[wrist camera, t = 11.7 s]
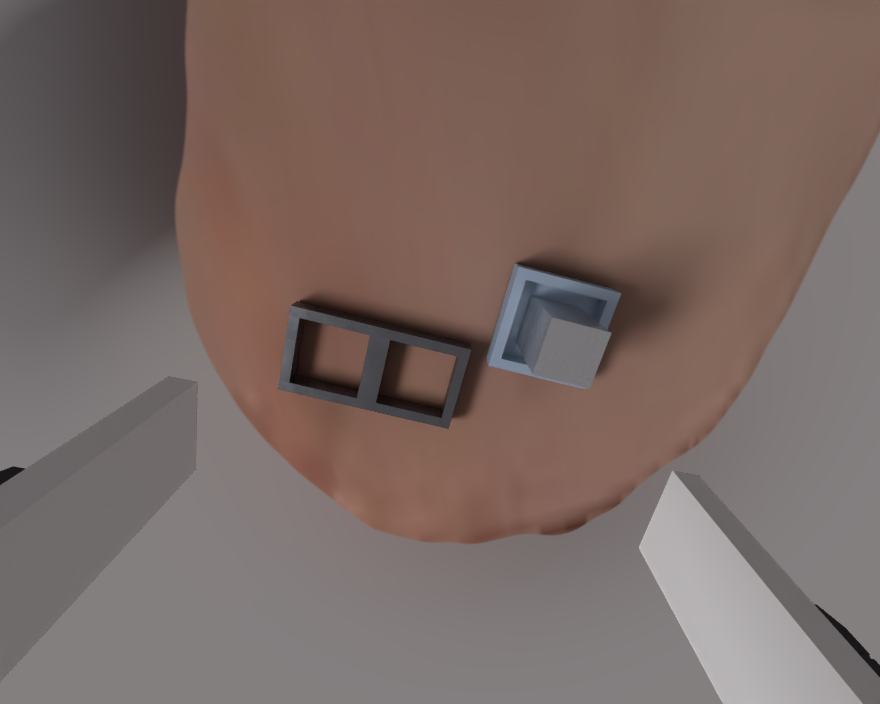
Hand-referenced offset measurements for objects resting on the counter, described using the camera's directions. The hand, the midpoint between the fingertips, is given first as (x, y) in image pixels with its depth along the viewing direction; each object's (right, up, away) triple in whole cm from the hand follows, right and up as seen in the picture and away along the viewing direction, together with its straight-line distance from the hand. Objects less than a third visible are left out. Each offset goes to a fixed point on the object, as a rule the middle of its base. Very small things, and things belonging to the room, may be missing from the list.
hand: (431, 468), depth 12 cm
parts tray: (+11, +6, +33) cm, 35 cm away
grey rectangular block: (+11, +6, +32) cm, 35 cm away
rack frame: (-6, +2, +34) cm, 35 cm away
